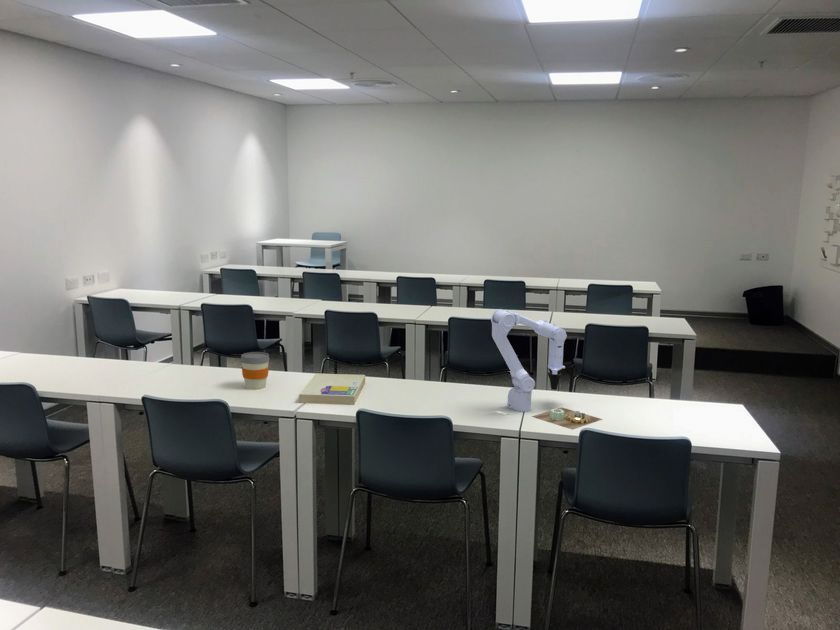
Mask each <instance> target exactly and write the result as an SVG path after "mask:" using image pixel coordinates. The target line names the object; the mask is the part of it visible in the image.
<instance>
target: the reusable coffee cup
mask: <svg viewBox="0 0 840 630" xmlns="http://www.w3.org/2000/svg"><path fill="white" fill-rule="evenodd" d="M240 356H241V357H240V362H241V365H242V366H241V373H242V377H243V379H244V387H245V389H247V390H251V391H252V390H253V391H254V390H255V391H256V390H263V389H265V388H266V386H267V380H268V376H269V369H270V368H269V367H270V366H269V362H270V356H269V353H267V352H263V351H262V352H261V351H250V352H244V353H243V354H241V355H240Z"/></svg>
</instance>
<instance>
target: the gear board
mask: <svg viewBox="0 0 840 630" xmlns="http://www.w3.org/2000/svg"><path fill="white" fill-rule="evenodd" d="M555 409H556V410H555V412H559V410H558V409H562V410H563V411H565V414H564V419H563V420H560V421H557V420H552V419H550V410H549V411H545V412H542V413H538V414H535V415H532V416H531V417H532V418H533V419H538V420H541V421H544V422H547V423H550V424H553V425H556V426H560V427H562V428H565V429H569V430H576V429H579V428H582V427H585V426H587V425H591V424H593V423H596V422H599V421H603V418H600V417H597V416H593V415H589V414H585V416H589V422H588V423H583V424H580V423H578V424H575V423H570V421H566V415H568V414H572V413H574V414H576V416H579V415H580V414H581V415H582V413H583V412H580V411H579V410H572V409H568V408H565V407H559V408H555Z"/></svg>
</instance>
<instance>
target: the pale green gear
mask: <svg viewBox="0 0 840 630" xmlns="http://www.w3.org/2000/svg"><path fill="white" fill-rule="evenodd" d="M556 409H558V408H551V409H550V410H549V411H550V419H552V420H557V421H560V420H563V419H564V414H565V411H563V410H562V409H558V410H559V412H555V410H556Z"/></svg>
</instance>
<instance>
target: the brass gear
mask: <svg viewBox="0 0 840 630" xmlns="http://www.w3.org/2000/svg"><path fill="white" fill-rule="evenodd" d="M581 413H582V415H581V414H580V415H579V416H576V414H574V413H572V414H568V415H566V421H570V423H575V424H578V423H580V424H583V423H588V422H589V416H585V412H581Z"/></svg>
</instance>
